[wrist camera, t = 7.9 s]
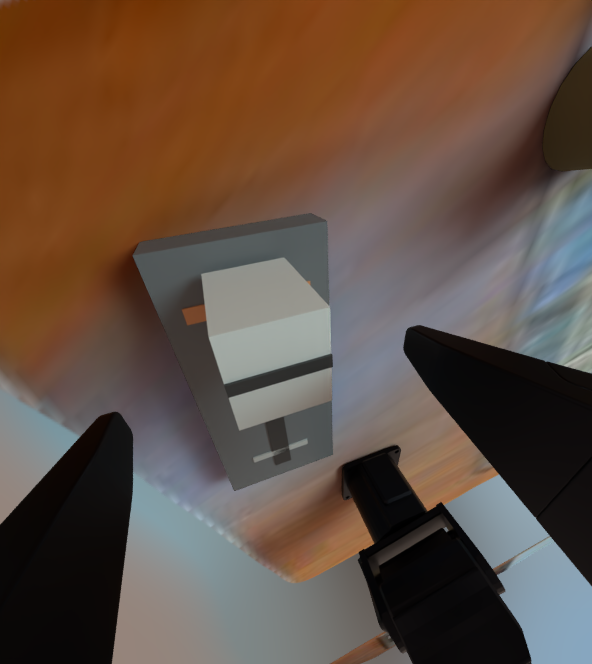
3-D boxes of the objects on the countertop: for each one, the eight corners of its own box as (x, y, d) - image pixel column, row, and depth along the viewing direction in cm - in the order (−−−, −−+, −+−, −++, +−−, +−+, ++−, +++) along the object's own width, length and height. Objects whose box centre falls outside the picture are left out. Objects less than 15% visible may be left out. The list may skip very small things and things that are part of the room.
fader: (293, 333, 14) (333, 402, 10) (224, 351, 13) (239, 432, 10) (284, 257, 12) (331, 308, 8) (201, 273, 11) (208, 339, 7)
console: (323, 434, 24) (333, 455, 22) (231, 466, 22) (234, 492, 21) (311, 213, 14) (328, 221, 12) (139, 242, 12) (132, 256, 10)
